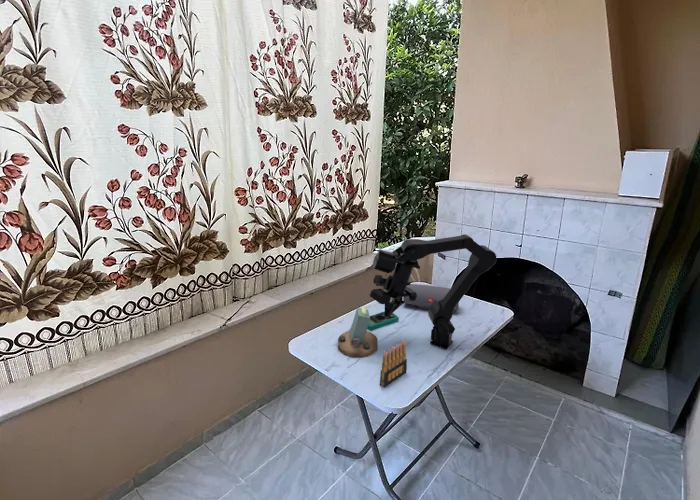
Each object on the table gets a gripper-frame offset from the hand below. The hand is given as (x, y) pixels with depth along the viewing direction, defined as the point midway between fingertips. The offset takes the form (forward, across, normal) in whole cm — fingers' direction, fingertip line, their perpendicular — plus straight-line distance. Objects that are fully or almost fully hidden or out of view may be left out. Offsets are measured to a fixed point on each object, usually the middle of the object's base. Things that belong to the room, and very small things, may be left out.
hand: (386, 316), depth 131 cm
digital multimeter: (+11, -13, -11) cm, 20 cm away
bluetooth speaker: (+4, -38, -6) cm, 39 cm away
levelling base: (+14, +6, -4) cm, 16 cm away
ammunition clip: (+11, +9, +17) cm, 22 cm away
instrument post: (+12, +7, -4) cm, 14 cm away
